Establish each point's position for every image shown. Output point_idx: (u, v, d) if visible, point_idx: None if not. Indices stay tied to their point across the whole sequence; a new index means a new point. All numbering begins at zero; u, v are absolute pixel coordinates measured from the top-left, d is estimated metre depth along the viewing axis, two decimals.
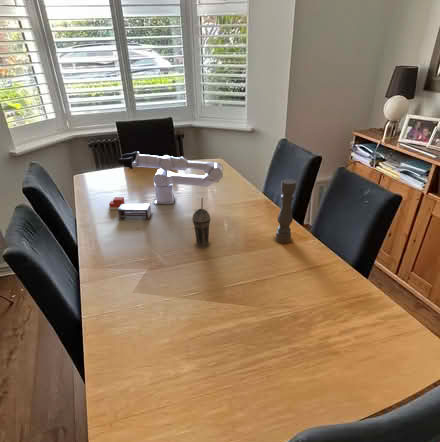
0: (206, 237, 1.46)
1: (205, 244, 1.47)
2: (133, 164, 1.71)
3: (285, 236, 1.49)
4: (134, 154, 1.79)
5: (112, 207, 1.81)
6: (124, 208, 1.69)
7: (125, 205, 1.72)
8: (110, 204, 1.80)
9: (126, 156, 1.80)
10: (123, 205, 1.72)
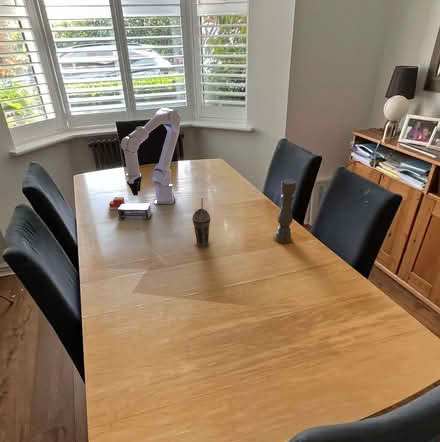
0: (206, 237, 1.46)
1: (205, 244, 1.47)
2: (130, 182, 1.65)
3: (285, 236, 1.49)
4: None
5: (112, 207, 1.81)
6: (124, 208, 1.69)
7: (125, 205, 1.72)
8: (110, 204, 1.80)
9: None
10: (123, 205, 1.72)
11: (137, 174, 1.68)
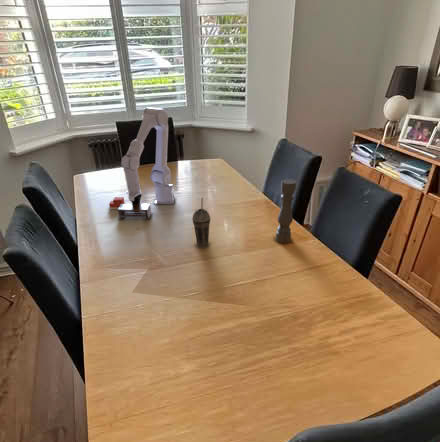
0: (206, 237, 1.46)
1: (205, 244, 1.47)
2: (131, 199, 1.66)
3: (285, 236, 1.49)
4: None
5: (112, 207, 1.81)
6: (124, 208, 1.69)
7: (125, 205, 1.72)
8: (110, 204, 1.80)
9: None
10: (123, 205, 1.72)
11: (138, 191, 1.70)
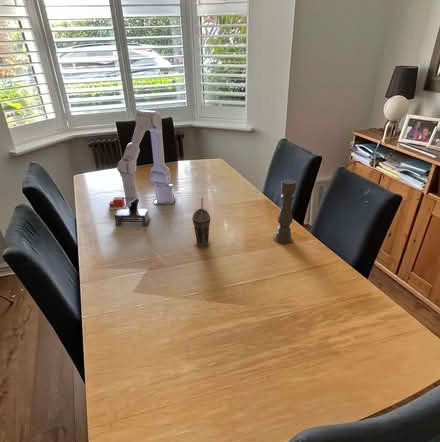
0: (206, 237, 1.46)
1: (205, 244, 1.47)
2: (127, 204, 1.61)
3: (285, 236, 1.49)
4: None
5: (112, 207, 1.81)
6: (121, 214, 1.64)
7: (122, 210, 1.67)
8: (110, 204, 1.80)
9: None
10: (120, 210, 1.67)
11: (135, 196, 1.64)
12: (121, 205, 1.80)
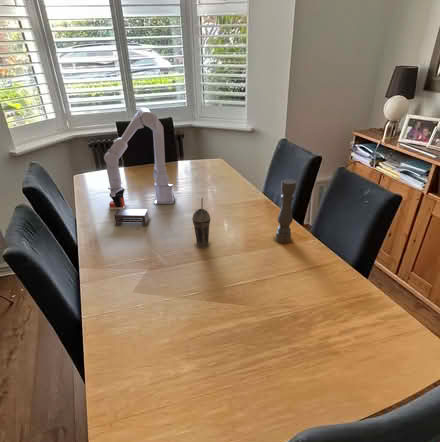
0: (206, 237, 1.46)
1: (205, 244, 1.47)
2: (112, 195, 1.71)
3: (285, 236, 1.49)
4: None
5: (112, 207, 1.80)
6: (121, 214, 1.64)
7: (122, 210, 1.67)
8: (110, 204, 1.80)
9: None
10: (120, 210, 1.67)
11: (119, 187, 1.74)
12: (121, 205, 1.80)
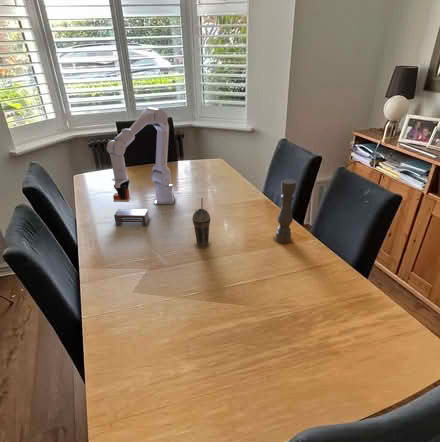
0: (206, 237, 1.46)
1: (205, 244, 1.47)
2: (116, 186, 1.61)
3: (285, 236, 1.49)
4: None
5: (116, 199, 1.70)
6: (121, 214, 1.64)
7: (122, 210, 1.67)
8: (114, 196, 1.69)
9: None
10: (120, 210, 1.67)
11: (124, 178, 1.64)
12: (126, 197, 1.69)
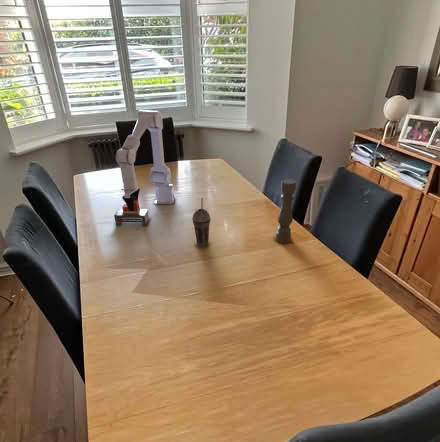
0: (206, 237, 1.46)
1: (205, 244, 1.47)
2: (126, 196, 1.54)
3: (285, 236, 1.49)
4: None
5: (126, 211, 1.64)
6: (121, 214, 1.64)
7: (122, 210, 1.67)
8: (123, 208, 1.63)
9: None
10: (120, 210, 1.67)
11: (134, 188, 1.57)
12: (136, 209, 1.63)
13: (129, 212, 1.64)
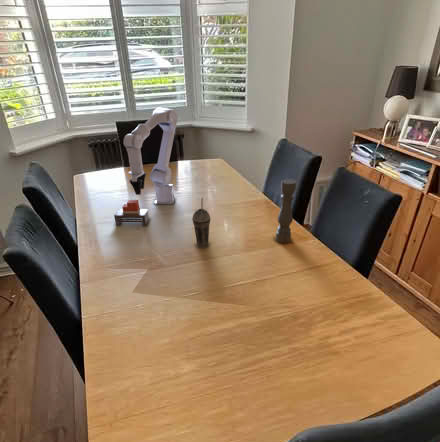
0: (206, 237, 1.46)
1: (205, 244, 1.47)
2: (133, 179, 1.61)
3: (285, 236, 1.49)
4: None
5: (126, 211, 1.64)
6: (121, 214, 1.64)
7: (122, 210, 1.67)
8: (123, 208, 1.63)
9: None
10: (120, 210, 1.67)
11: (140, 172, 1.65)
12: (136, 209, 1.63)
13: (129, 212, 1.64)
